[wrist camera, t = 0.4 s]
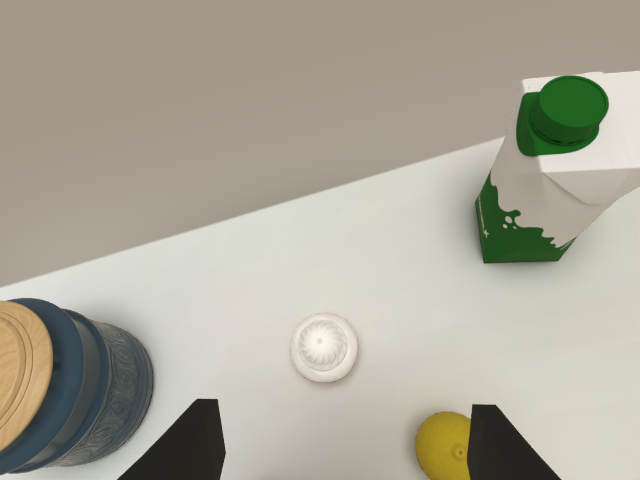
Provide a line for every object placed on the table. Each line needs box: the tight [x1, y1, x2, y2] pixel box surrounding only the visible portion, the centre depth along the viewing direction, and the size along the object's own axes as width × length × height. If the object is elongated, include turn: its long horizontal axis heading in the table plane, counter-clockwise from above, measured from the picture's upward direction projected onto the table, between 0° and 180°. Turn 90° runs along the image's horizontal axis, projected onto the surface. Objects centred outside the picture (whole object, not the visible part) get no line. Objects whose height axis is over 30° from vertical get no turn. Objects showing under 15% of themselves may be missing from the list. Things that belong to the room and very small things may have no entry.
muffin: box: [290, 313, 358, 383], centre depth 39 cm, size 6×6×7 cm
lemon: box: [415, 412, 471, 480], centre depth 34 cm, size 6×6×8 cm
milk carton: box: [475, 71, 640, 263], centre depth 35 cm, size 9×9×20 cm
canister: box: [0, 298, 153, 475], centre depth 35 cm, size 13×13×18 cm
